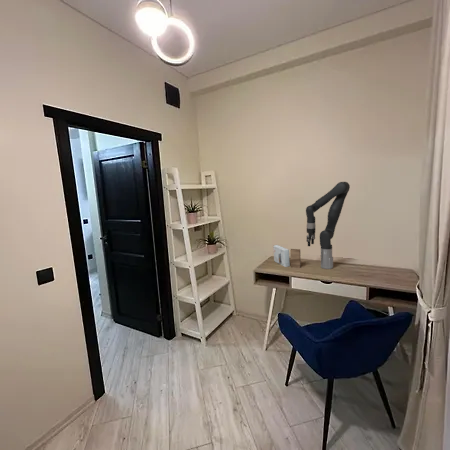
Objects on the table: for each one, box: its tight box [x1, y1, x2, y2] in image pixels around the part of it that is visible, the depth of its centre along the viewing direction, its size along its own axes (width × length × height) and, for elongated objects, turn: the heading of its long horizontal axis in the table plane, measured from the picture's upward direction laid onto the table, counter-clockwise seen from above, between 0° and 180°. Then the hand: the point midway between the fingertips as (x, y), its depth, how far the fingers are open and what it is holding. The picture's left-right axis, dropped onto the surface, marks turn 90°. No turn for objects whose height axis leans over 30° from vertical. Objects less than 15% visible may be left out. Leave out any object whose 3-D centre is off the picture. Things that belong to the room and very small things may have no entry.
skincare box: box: [272, 244, 291, 268], centre depth 241 cm, size 21×5×16 cm, turn 17°
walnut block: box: [289, 248, 302, 269], centre depth 229 cm, size 4×8×16 cm, turn 64°
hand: (310, 245), depth 231 cm, fingers open, 8 cm apart
